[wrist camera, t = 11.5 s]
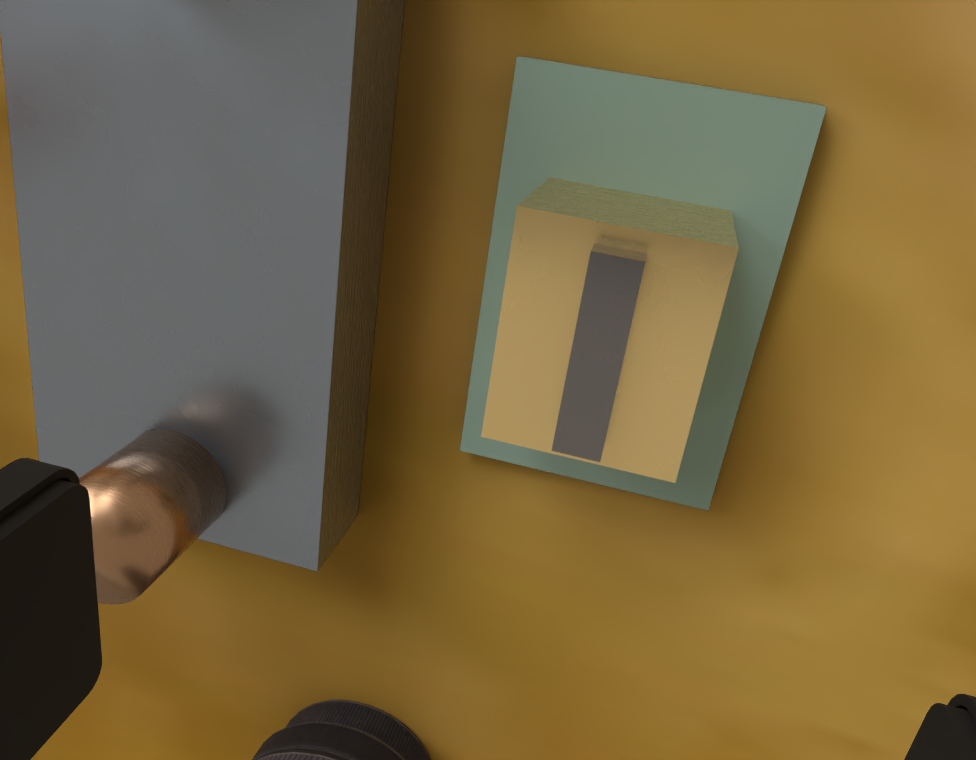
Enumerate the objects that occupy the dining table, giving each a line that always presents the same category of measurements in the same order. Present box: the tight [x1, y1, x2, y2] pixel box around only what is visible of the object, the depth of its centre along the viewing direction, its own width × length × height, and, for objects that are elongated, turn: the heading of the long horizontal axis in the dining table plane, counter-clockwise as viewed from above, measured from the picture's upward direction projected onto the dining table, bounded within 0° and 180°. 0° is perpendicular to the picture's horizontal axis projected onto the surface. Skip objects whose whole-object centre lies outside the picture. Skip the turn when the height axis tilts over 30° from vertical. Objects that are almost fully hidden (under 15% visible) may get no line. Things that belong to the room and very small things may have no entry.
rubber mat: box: [460, 56, 827, 511], centre depth 24 cm, size 12×8×1 cm, turn 172°
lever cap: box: [481, 177, 739, 483], centre depth 21 cm, size 6×5×5 cm
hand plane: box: [0, 0, 405, 604], centre depth 22 cm, size 20×10×10 cm, turn 172°
